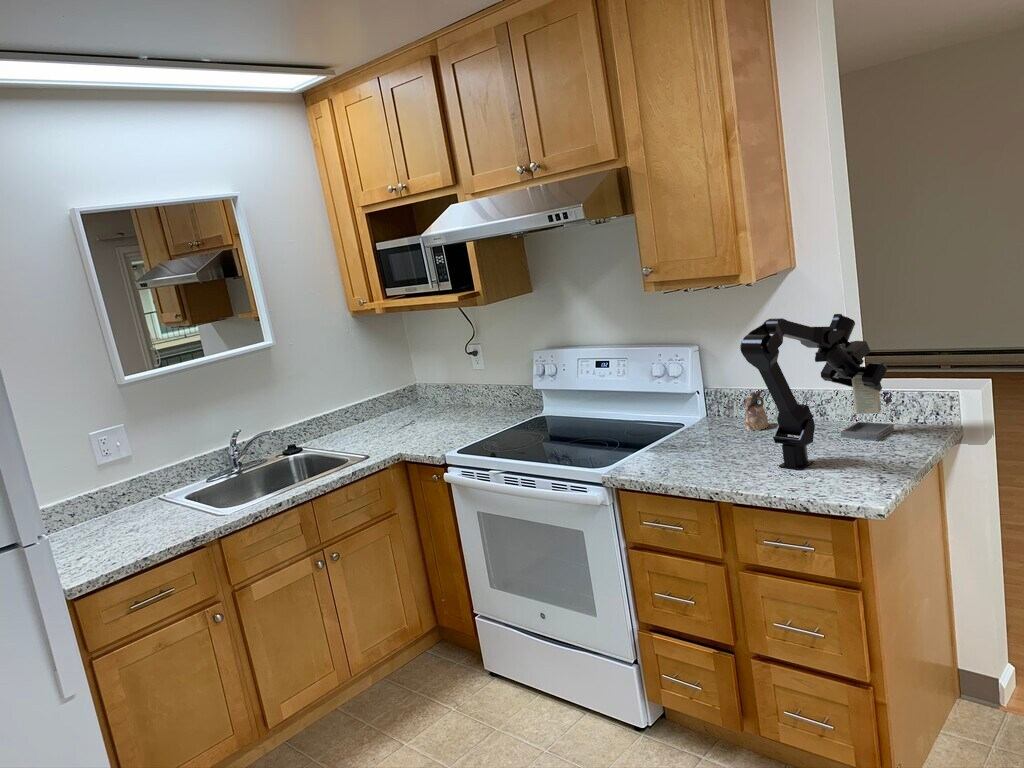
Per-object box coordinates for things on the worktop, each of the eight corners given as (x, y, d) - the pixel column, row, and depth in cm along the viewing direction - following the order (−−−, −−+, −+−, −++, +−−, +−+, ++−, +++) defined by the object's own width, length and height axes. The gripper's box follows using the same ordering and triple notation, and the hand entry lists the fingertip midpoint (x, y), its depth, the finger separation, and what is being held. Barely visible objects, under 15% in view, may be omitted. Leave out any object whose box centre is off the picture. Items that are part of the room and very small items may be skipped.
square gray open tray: (877, 440, 210) (876, 434, 210) (840, 437, 218) (840, 431, 218) (894, 430, 217) (893, 424, 216) (858, 427, 225) (857, 421, 224)
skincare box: (881, 410, 216) (878, 367, 214) (878, 414, 212) (875, 371, 210) (856, 410, 219) (853, 368, 217) (854, 414, 216) (850, 371, 214)
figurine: (744, 426, 246) (739, 390, 244) (767, 423, 245) (762, 387, 243) (746, 432, 240) (741, 395, 237) (770, 429, 238) (765, 392, 236)
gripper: (879, 334, 202) (911, 366, 208) (824, 332, 219) (855, 362, 225) (860, 369, 200) (893, 401, 206) (806, 364, 217) (838, 394, 223)
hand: (869, 388), depth 215 cm, fingers closed on skincare box, 7 cm apart
